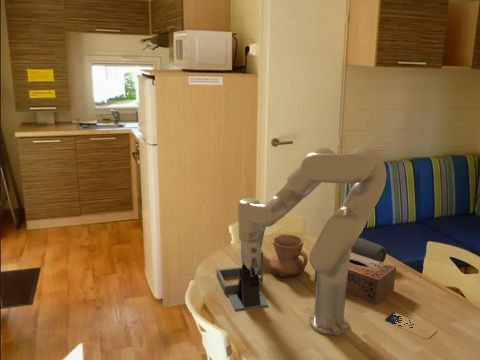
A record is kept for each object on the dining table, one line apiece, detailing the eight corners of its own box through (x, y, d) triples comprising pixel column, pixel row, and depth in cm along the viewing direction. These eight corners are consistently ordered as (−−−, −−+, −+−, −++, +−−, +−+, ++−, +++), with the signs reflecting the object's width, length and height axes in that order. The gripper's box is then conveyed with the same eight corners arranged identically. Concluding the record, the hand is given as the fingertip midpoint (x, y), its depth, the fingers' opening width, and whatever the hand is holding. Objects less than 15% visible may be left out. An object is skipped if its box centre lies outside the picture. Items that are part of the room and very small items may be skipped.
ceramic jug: (259, 270, 186) (260, 238, 182) (282, 259, 196) (284, 229, 192) (293, 286, 173) (295, 253, 169) (316, 274, 183) (318, 242, 179)
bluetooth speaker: (328, 254, 202) (330, 233, 199) (341, 248, 208) (342, 228, 206) (373, 271, 186) (375, 249, 183) (385, 265, 192) (388, 243, 189)
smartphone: (427, 339, 141) (383, 319, 151) (427, 341, 141) (383, 321, 151) (438, 330, 146) (395, 311, 156) (438, 331, 146) (395, 312, 157)
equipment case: (263, 290, 170) (264, 253, 166) (225, 295, 166) (225, 257, 162) (251, 271, 185) (252, 237, 181) (216, 275, 181) (216, 240, 177)
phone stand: (260, 304, 159) (261, 273, 156) (244, 307, 157) (244, 275, 154) (251, 292, 167) (252, 262, 164) (236, 294, 165) (236, 264, 162)
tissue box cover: (393, 291, 171) (396, 266, 169) (375, 305, 161) (378, 280, 158) (334, 269, 188) (335, 247, 185) (314, 281, 178) (316, 258, 175)
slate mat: (268, 306, 159) (268, 304, 159) (234, 310, 156) (234, 309, 156) (259, 292, 168) (259, 291, 168) (228, 296, 165) (228, 294, 165)
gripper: (267, 242, 148) (268, 289, 152) (253, 225, 164) (253, 268, 169) (245, 244, 146) (246, 293, 150) (233, 227, 163) (234, 271, 167)
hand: (250, 280), depth 160 cm, fingers open, 9 cm apart
